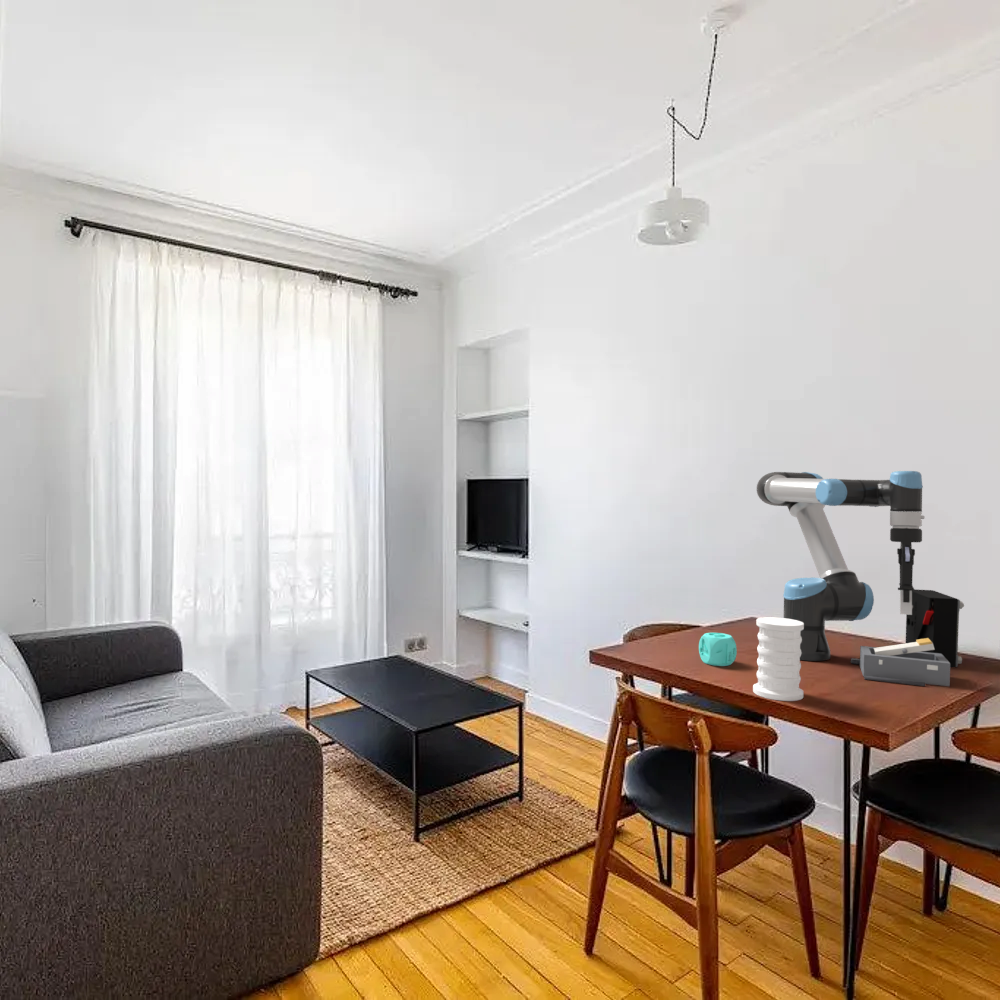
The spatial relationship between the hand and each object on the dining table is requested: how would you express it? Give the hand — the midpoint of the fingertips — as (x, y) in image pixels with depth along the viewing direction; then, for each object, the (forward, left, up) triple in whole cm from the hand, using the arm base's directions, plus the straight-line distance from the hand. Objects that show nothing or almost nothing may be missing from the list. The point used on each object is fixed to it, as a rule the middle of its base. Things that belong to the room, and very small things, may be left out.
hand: (905, 614), depth 188 cm
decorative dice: (-48, -8, -18) cm, 52 cm away
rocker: (0, +1, -10) cm, 10 cm away
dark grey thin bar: (-3, -8, -17) cm, 19 cm away
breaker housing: (0, +1, -17) cm, 17 cm away
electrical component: (+11, +27, -18) cm, 34 cm away
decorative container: (-31, -33, -18) cm, 48 cm away
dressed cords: (0, +11, -17) cm, 20 cm away
